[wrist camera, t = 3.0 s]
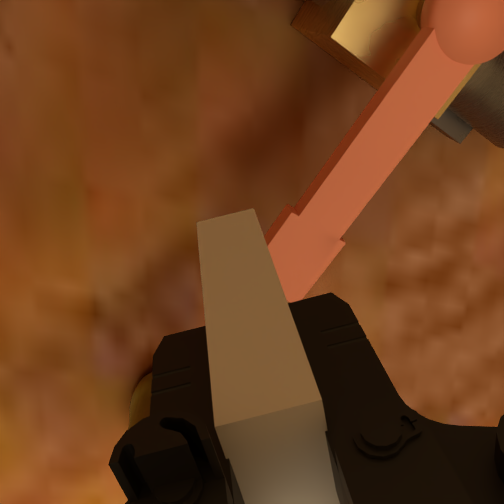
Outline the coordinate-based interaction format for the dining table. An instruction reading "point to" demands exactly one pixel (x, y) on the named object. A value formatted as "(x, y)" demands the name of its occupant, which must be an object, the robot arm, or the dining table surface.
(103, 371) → the dining table surface
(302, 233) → the lever
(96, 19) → the dining table surface
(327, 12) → the valve pipe
